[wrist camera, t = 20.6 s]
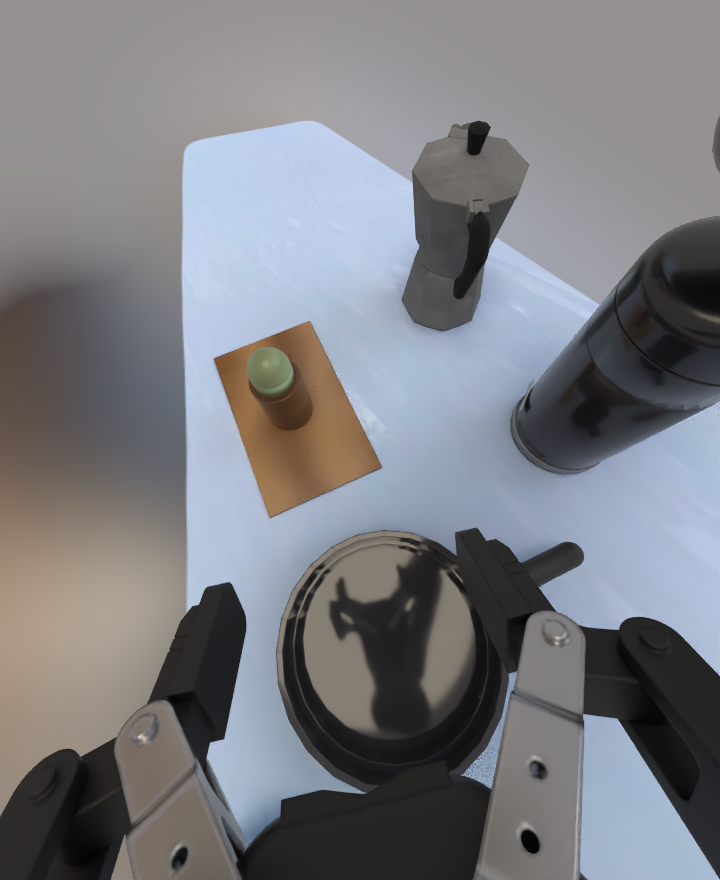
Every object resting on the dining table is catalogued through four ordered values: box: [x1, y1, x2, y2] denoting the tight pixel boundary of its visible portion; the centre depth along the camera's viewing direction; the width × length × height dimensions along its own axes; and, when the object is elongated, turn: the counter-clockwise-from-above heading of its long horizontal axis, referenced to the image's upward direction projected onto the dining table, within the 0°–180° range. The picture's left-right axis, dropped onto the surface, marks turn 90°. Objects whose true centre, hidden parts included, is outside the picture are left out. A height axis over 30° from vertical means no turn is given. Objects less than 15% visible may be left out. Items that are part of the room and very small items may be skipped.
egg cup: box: [246, 347, 313, 430], centre depth 34 cm, size 5×5×10 cm
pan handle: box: [521, 542, 584, 587], centre depth 29 cm, size 9×2×2 cm, turn 114°
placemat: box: [214, 321, 382, 518], centre depth 39 cm, size 12×20×1 cm, turn 24°
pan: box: [276, 530, 509, 793], centre depth 28 cm, size 17×17×4 cm
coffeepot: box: [402, 121, 529, 330], centre depth 34 cm, size 15×9×18 cm, turn 0°
